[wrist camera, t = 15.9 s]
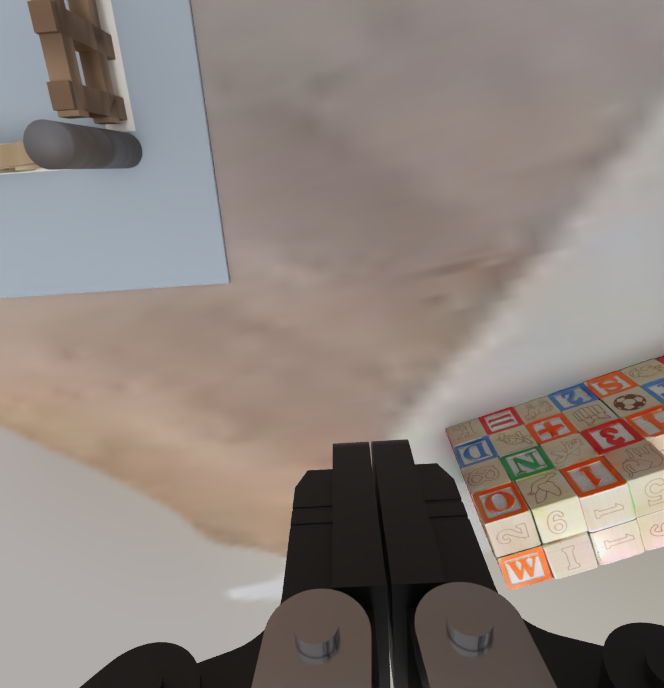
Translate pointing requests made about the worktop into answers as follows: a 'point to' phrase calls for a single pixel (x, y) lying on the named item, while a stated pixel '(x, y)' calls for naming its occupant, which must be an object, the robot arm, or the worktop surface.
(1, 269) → the card
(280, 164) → the worktop surface
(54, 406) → the worktop surface
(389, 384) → the worktop surface
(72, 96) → the fixed fence
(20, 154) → the hinged fence panel
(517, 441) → the stack of blocks
